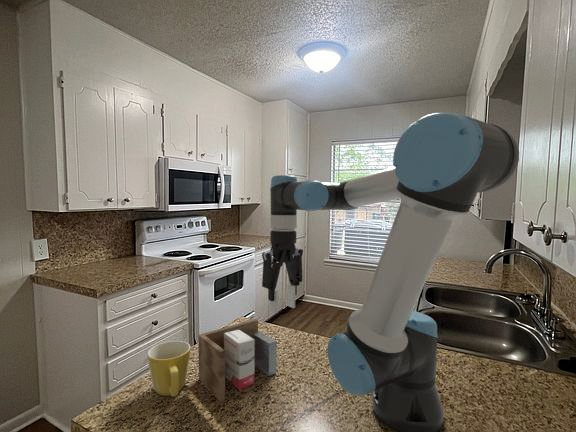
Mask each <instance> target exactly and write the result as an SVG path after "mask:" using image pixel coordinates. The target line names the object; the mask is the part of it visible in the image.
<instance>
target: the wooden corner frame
mask: <svg viewBox="0 0 576 432" xmlns="http://www.w3.org/2000/svg"><path fill="white" fill-rule="evenodd" d="M235 330H240V331H242V332H243V333H245V334H247V335H248V336H250V337H251V338H253V334H254V333H257V332H259V320H258V319H257V318H255V319H251V320H247V321H245V322H240V323H236V324H233V325H230V326H226V327H222V328H218V329H215V330H212V331H208V332H205V333H200V334H198V380H199V381H200V383H202V385H203V386H204V387H205V388H206V389H207V390H208V391H209V392H210V393H211V394H212V395H213V396H214V397H215V398H216V399H217V400H218V402H220V403H221V402H224V401H226V377H225V350H224V333H226V332H231V331H235Z"/></svg>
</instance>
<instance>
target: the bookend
mask: <svg viewBox="0 0 576 432" xmlns="http://www.w3.org/2000/svg"><path fill="white" fill-rule="evenodd" d="M253 339H254V340H255V343H254V361H255V368H257V370H259V371H261V372H262V373H263V374H265V376H267V377H271V376H273V375H276V374H277V355H278V354H277V353H278V352H277V347H278V346H277V344H278V343H277V340H275V339H273V338H272V337H270V336H268V335H267V334H265V333H263V332H262V331H258V332H257V333H254V334H253Z"/></svg>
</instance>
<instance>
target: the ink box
mask: <svg viewBox="0 0 576 432" xmlns="http://www.w3.org/2000/svg"><path fill="white" fill-rule="evenodd" d="M254 343H255V340H254V339H253V338H251V337H250V336H248V335H247V334H245V333H243V332H242V331H240V330H235V331H231V332H226V333H224V350H225V379H227V380H228V381H229V382H230V383H231V384H233V386H234V387H235V388H237V389H238V390H240V391H241V390H243V389H245V388H247V387H249V386H252V385H255V377H256V376H255V373H256V372H255V369H256V367H255V361H254Z"/></svg>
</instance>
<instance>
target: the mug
mask: <svg viewBox="0 0 576 432" xmlns="http://www.w3.org/2000/svg"><path fill="white" fill-rule="evenodd" d="M191 348H192V347H191V344H190V343H188V342H186V341H182V340H170V341H165V342H161V343H158V344H156V345H154V346H152V347H151V348H150V349H148V351H147V361H148V366H149V372H150V378H151V383H152V388H153V390H154V391H155V392H156V393H157V394H159V395H160V396H165V397H167V396H168V397H169V396H171V397H177V396H178V395H179V392H180V391H181V390H182V388H184V386H185V385H186V383H187V379H188V378H187V377H188V376H187V375H188V371H189V370H188V369H189V362H190V361H189V360H190V354H191Z"/></svg>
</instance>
